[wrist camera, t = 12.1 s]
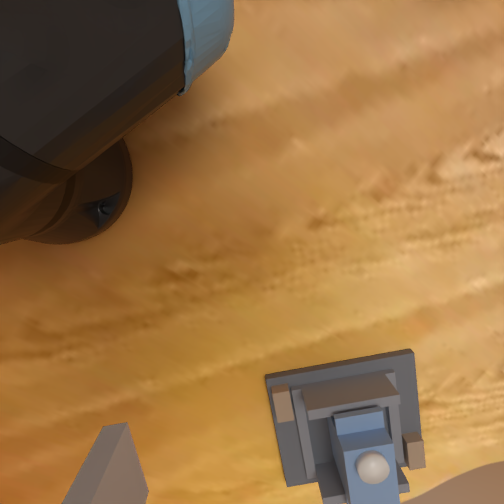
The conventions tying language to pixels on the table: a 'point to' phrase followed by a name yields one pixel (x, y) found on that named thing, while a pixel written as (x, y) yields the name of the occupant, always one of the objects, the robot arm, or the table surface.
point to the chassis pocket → (340, 401)
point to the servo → (364, 457)
